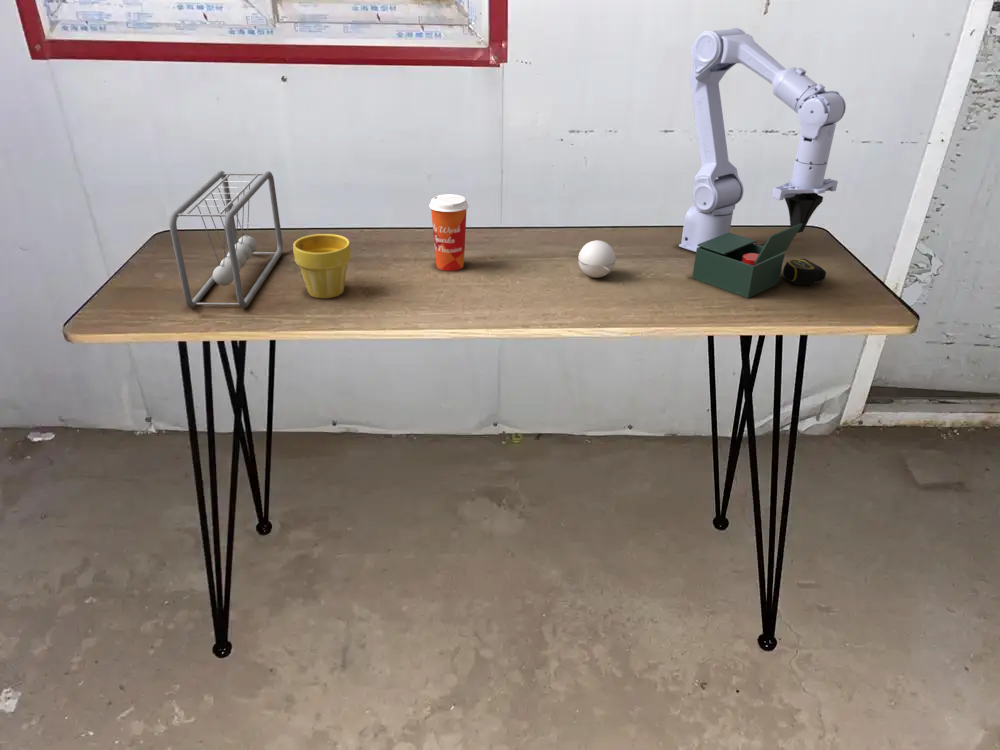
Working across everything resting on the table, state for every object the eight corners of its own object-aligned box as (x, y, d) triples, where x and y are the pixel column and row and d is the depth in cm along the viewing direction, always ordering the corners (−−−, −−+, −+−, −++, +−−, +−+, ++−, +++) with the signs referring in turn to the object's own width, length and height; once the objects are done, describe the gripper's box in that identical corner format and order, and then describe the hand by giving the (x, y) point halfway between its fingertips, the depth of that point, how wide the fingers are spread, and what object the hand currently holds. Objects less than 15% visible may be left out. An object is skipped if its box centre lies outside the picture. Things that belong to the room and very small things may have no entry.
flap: (784, 249, 149) (786, 250, 149) (753, 262, 143) (755, 263, 143) (801, 223, 145) (802, 224, 145) (770, 235, 139) (771, 236, 139)
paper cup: (424, 269, 157) (422, 202, 150) (441, 256, 163) (439, 191, 156) (459, 275, 154) (458, 207, 147) (475, 262, 161) (475, 196, 154)
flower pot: (363, 285, 150) (359, 236, 145) (337, 306, 141) (332, 255, 136) (317, 277, 153) (311, 230, 148) (288, 298, 144) (281, 248, 139)
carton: (778, 283, 153) (785, 249, 149) (747, 298, 147) (754, 262, 143) (723, 264, 161) (728, 232, 157) (692, 278, 155) (697, 244, 151)
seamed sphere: (573, 269, 158) (576, 235, 154) (609, 269, 158) (612, 234, 155) (582, 289, 149) (584, 253, 146) (620, 288, 150) (623, 252, 146)
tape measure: (825, 286, 152) (829, 268, 150) (795, 289, 150) (799, 272, 148) (803, 273, 158) (807, 255, 156) (774, 276, 156) (778, 259, 154)
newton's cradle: (244, 312, 139) (228, 216, 130) (186, 312, 138) (166, 216, 130) (284, 251, 165) (273, 168, 156) (235, 251, 164) (220, 167, 156)
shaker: (751, 289, 149) (757, 262, 146) (733, 283, 152) (738, 256, 149) (763, 284, 151) (768, 257, 149) (745, 277, 154) (750, 251, 151)
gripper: (798, 170, 138) (783, 242, 145) (856, 161, 144) (839, 231, 150) (770, 161, 143) (757, 231, 150) (826, 153, 149) (811, 221, 156)
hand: (796, 230), depth 151 cm, fingers closed
